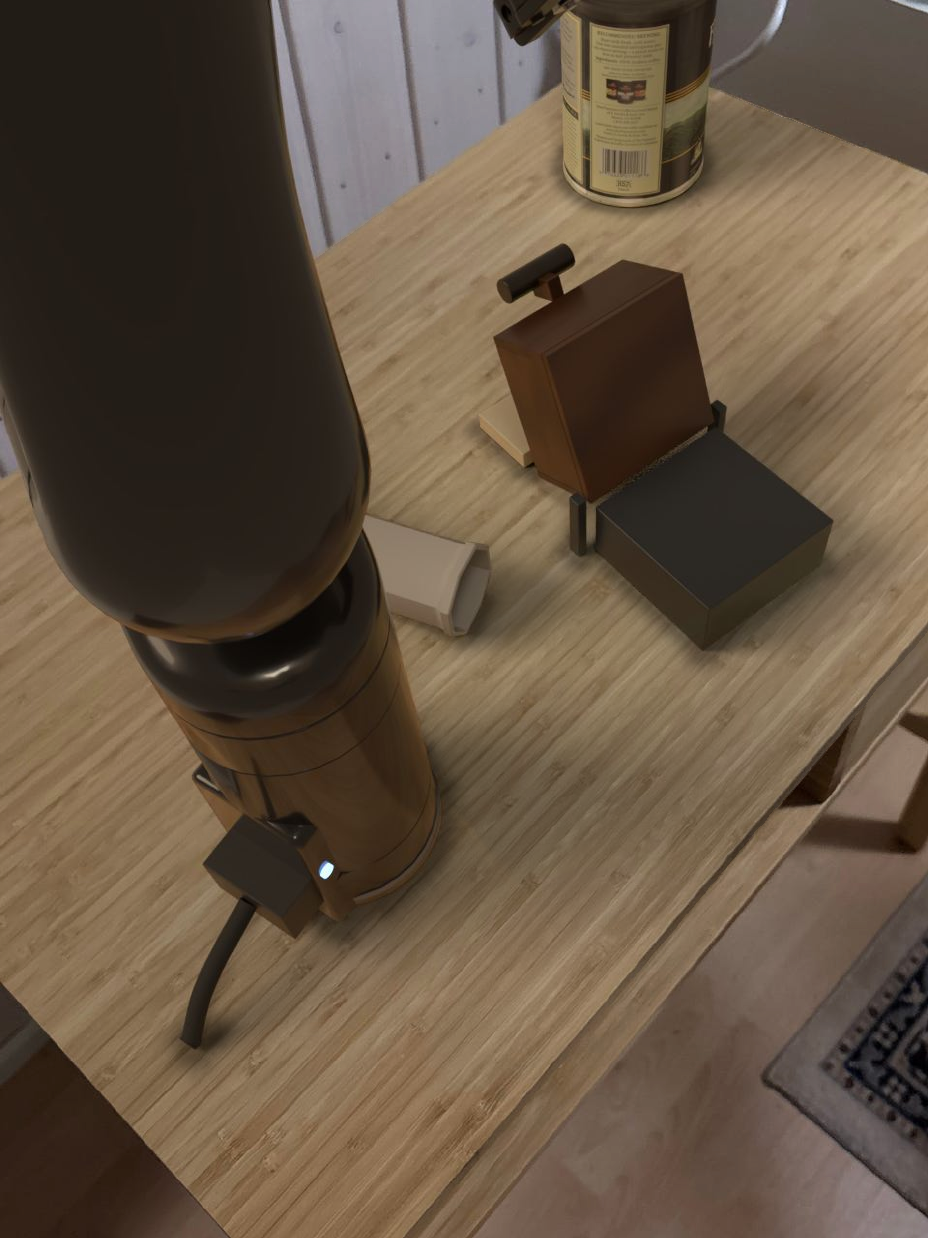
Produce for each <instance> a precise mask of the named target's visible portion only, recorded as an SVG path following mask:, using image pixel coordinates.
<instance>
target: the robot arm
mask: <svg viewBox="0 0 928 1238" xmlns="http://www.w3.org/2000/svg"><path fill="white" fill-rule="evenodd" d="M578 1H579V0H493V3H492V5H493V6H494V9H495V11H496V13H497V15H498V17H499V19H500V21H501V23H502V25H503V27H504V29H505V31H506V33H507V35H508V37H509V39H510V40H512V39H513V40H514V41H515V43H516V44H517V45H518V46H520V47H525V46H527V45H529V44H531V43H532V42H535V41H537V40H538V39H540V38H541V37H542V36H543V35H544V34H545V33H546V32H548V30H549V29H550V28H551V27H552V26H553V25H555V23H556V22H557V21H558V20H560V17H561V16H562V15H563V14H564V13H566V12H568V11H570V10H572V9H573V8H575V7H576V6H577V2H578ZM280 76H281V75H280V68H279V58H278V48H277V39H276V28H275V20H274V12H273V2H272V0H0V418H1V420H2V423H3V426H4V428H5V431H6V434H7V436H8V439H9V441H10V445H11V448H12V451H13V453H14V457H15V460H16V462H17V467H18V469H19V472H20V474H21V477H22V480H23V483H24V486H25V490H26V492H27V496H28V498H29V501H30V505H31V507H32V510H33V514H34V517H35V520H36V522H37V524H38V528H39V530H40V532H41V535H42V537H43V539H44V543H45V546H46V548H47V550H48V551H49V553H50V555H51V556H52V559H53V561H55V563H56V565H57V566H58V568H59V570H60V571H61V572H62V574H63V576H64V577H65V578H66V579H67V581H68V582H69V583H70V585H71V586H73V588H74V589H75V590H76V591H77V592H78V593H79V594H80V595H81V596H82V597H83V598H84V599H85V600H87V601H88V602H89V604H91V605H92V606H93V607H95V608H96V609H97V610H99V611H100V612H102V613H103V614H104V615H106V616H108V617H109V618H111V619H113V621H116V622H117V623H118V624H120V627H121V629H122V632H123V634H124V636H125V639H126V641H127V642H128V645H129V647H130V650H131V652H132V653H133V655H134V657H135V659H136V661H137V662H138V664H139V666H140V667H141V669H142V671H143V672H144V674H145V675H146V677H147V679H148V680H149V682H150V683H151V685H152V687H153V688H154V689H155V691H156V693H157V694H158V695H159V697H160V699H161V700H162V702H163V703H164V705H165V706H166V708H167V710H168V711H169V713H170V714H171V716H172V718H173V719H174V720H175V722H176V724H177V725H178V727H179V729H180V731H181V732H182V733H183V735H184V736H185V739H186V740H187V742H188V743H189V745H190V746H191V748H192V750H193V751H194V752H195V754H196V756H197V758H199V760H200V763H199V765H198V766H197V767H196V769H194V771H193V772H192V774H191V781H192V783H194V785H195V786H196V788H197V789H198V791H199V792H200V795H202V797H203V798H204V800H205V802H206V803H207V804H208V806H209V807H210V809H211V811H212V812H213V814H214V815H215V816H216V818H217V820H218V821H219V822H220V824H221V826H222V827H223V828H224V830H225V831H226V834H225V835H224V836H223V837H222V839H221V840H220V841H219V843H218V844H217V845H215V847H214V849H212V850H211V852H210V854H208V856H207V857H206V858H205V859H204V860H203V862H202V866H203V868H204V869H205V870H206V871H207V873H208V874H209V875H210V876H211V878H212V879H213V881H214V882H215V883H216V885H217V886H218V887H219V888H220V889H222V890H223V891H224V892H226V893H227V894H229V895H230V896H232V897H233V898H234V899H236V900H237V902H236V903H235V904H236V905H235V906H234V907H233V909H232V911H231V913H230V915H229V917H228V919H227V920H226V922H225V924H224V926H223V928H221V929H222V930H221V931H220V933H219V935H218V936H217V938H216V940H215V941H214V944H213V946H212V947H211V948H210V951H209V953H208V955H207V957H206V959H205V961H204V963H203V965H202V967H201V969H200V972H199V973H198V976H197V978H196V981H195V983H194V985H193V988H192V991H191V995H190V998H189V1001H188V1004H187V1008H186V1013H185V1018H184V1022H183V1028H182V1032H181V1035H180V1037H179V1040H180V1041H181V1042H182V1043H184V1044H185V1045H187V1046H188V1047H190V1048H191V1049H193V1050H194V1051H196V1050H197V1049H198V1048H199V1046H200V1043H201V1040H202V1037H203V1033H204V1028H205V1024H206V1019H207V1015H208V1012H209V1011H208V1010H209V1007H210V1003H211V1000H212V997H213V995H214V992H215V990H216V987H217V985H218V983H219V980H220V978H221V976H222V973H224V969H226V966H227V964H228V962H229V960H230V958H231V957H232V955H233V953H234V951H235V949H236V947H237V945H238V944H239V942H240V940H241V939H242V937H243V935H244V933H245V931H246V929H247V927H248V926H249V924H250V922H251V920H252V918H253V917H254V915H255V914H258V915H259V916H261V918H262V919H265V920H266V921H267V922H269V923H271V924H272V925H274V926H275V927H276V928H278V929H279V930H281V931H282V932H284V933H285V934H287V935H288V936H290V937H291V938H292V939H294V940H296V939H298V937H299V936H300V934H301V933H302V931H303V930H304V929H305V927H307V925H308V924H309V923H310V921H311V920H312V918H313V917H314V915H315V914H316V913H317V912H318V911H320V912H321V913H323V914H324V915H326V916H327V917H329V918H331V919H332V920H333V921H335V922H338V923H340V922H343V921H344V920H346V918H347V917H348V915H349V914H350V913H351V911H352V910H353V909H354V908H355V907H356V906H358V905H363V904H367V903H371V902H373V901H377V900H378V899H381V898H383V897H385V896H387V895H389V894H391V893H392V892H394V891H396V890H397V889H399V888H400V887H401V886H403V885H404V884H406V883H407V882H408V881H409V880H410V879H412V877H413V876H414V875H415V874H416V873H417V872H418V871H419V870H420V868H421V867H422V866H423V865H424V863H425V862H426V861H427V859H428V858H429V856H430V854H431V853H432V850H433V848H434V846H435V844H436V842H437V838H438V835H439V832H440V827H441V822H442V799H441V793H440V789H439V785H438V781H437V778H436V776H435V772H434V771H433V769H432V767H431V762H430V758H429V755H428V751H427V748H426V747H427V746H426V743H425V740H424V735H423V732H422V728H421V724H420V720H419V717H418V712H417V708H416V705H415V701H414V697H413V692H412V690H411V685H410V681H409V677H408V674H407V669H406V665H405V661H404V659H403V655H402V650H401V647H400V643H399V642H400V641H399V639H398V635H397V630H396V627H395V623H394V619H393V614H392V612H391V611H390V607H389V603H388V600H387V596H386V592H385V588H384V584H383V580H382V576H381V573H380V569H379V566H378V563H377V560H376V557H375V554H374V551H373V548H372V546H371V544H370V541H369V539H368V537H367V534H366V532H365V530H364V528H363V522H364V519H365V515H366V513H367V511H368V507H369V504H370V496H371V485H372V484H371V483H372V473H373V471H372V458H371V452H370V447H369V441H368V438H367V433H366V430H365V427H364V423H363V421H362V419H361V418H362V417H361V414H360V412H359V408H358V405H357V402H356V399H355V396H354V393H353V389H352V387H351V384H350V380H349V378H348V374H347V371H346V368H345V364H344V361H343V358H342V354H341V351H340V348H339V345H338V341H337V337H336V334H335V330H334V327H333V323H332V320H331V316H330V312H329V309H328V304H327V301H326V299H325V295H324V291H323V286H322V284H321V281H320V277H319V273H318V269H317V266H316V263H315V259H314V256H313V252H312V249H311V244H310V240H309V236H308V232H307V229H306V224H305V221H304V217H303V212H302V208H301V203H300V199H299V195H298V191H297V185H296V180H295V175H294V169H293V165H292V160H291V155H290V149H289V141H288V133H287V125H286V119H285V111H284V104H283V102H284V101H283V95H282V87H281V77H280Z"/></svg>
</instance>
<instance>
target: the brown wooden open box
mask: <svg viewBox="0 0 928 1238" xmlns="http://www.w3.org/2000/svg"><path fill="white" fill-rule="evenodd" d="M575 265H576V257H575V254H574V252H573V250H572V248H571V247H570V246H569V245H568V244H566V243H565V242H564V243H563V242H562V243H559V244H558V245H556V246H554V247H553V248H551V249H549V250H548V251H545V252H544V253H542V254H541V255H539V256H537V257H535V258H533V259H532V260H530V261H528V262H527V263H525V264H523V265H521V266H520V267H518V268H515V270H513V271H511V272H509V273H508V274H506V275H504V276H503V277H501V278H499V279H498V280H497V282H496V290H497V293H498V295H499V296H500V298H501V299H502V301H504V303H506V304H508V305H511V304H513V303H515V302H516V301H518V300H520V299H522V298H523V297H525V296H526V295H528V294H530V293H533V296H534V297H536V298H540V299H543V300H546V301H549V302H548V303H547V304H545V305H543V306H542V307H540V308H539V309H537V310H535V311H534V312H532V313H530V314H529V315H527V316H526V317H524V318H522V319H520V320H519V321H517V322H515V323H513V324H512V325H510V326H508V327H507V328H504V330H502V331H500V332H499V333H497V334H495V335H493V337H492V339H493V342H494V345H495V349H496V351H497V355H498V357H499V360H500V364H501V366H502V367H501V368H502V369H503V372H504V375H505V379H506V381H507V385H508V388H509V390H510V395H511V394H512V397H513V400H514V403H515V406H516V409H517V412H518V415H519V418H520V421H521V424H522V427H523V430H524V433H525V436H526V439H527V442H528V446H529V449H530V452H531V455H532V458H533V461H534V462H533V464H534V466H535V469H536V472H537V475H538V477H539V478H540V479H542V480H544V481H546V482H547V483H550V484H551V485H553V486H555V487H557V488H559V489H561V490H564V491H565V492H567V493H569V494H571V495H574V494H575V493H577V492H578V493H579V494H580V495H581V496H582V497H583V498H584V499H585V500H586V503H588V504H591V505H592V504H593V503H595V502H596V501H598V500H599V499H601V498H603V497H604V496H605V495H607V494H609V493H610V492H611V491H613V490H614V489H616V488H617V487H619V486H620V485H622V484H623V483H625V482H626V481H628V480H630V479H631V478H632V477H634V476H636V475H637V474H638V473H640V472H641V471H643V470H644V469H646V468H647V467H649V466H650V465H652V464H654V463H655V462H656V461H658V460H660V459H661V458H662V457H663V456H664V457H665V455H667V454H669V453H670V452H672V451H673V450H674V449H676V448H677V447H679V446H680V445H681V444H683V443H684V442H686V441H687V440H689V439H691V438H692V437H694V436H695V435H697V434H699V432H701V431H703V430H704V429H707V426H709V425H710V424H712V423H713V422H714V418H713V413H712V408H711V399H710V395H709V391H708V385H707V381H706V376H705V371H704V367H703V361H702V358H701V357H702V356H701V353H700V348H699V343H698V339H697V334H696V329H695V325H694V319H693V314H692V310H691V305H690V301H689V296H688V291H687V286H686V282H685V277H684V273H683V272H678V271H674V270H671V269H666V268H661V267H657V266H652V265H649V264H644V263H640V262H636V261H632V260H627V259H623V258H622V259H621V260H619V261H617V262H615V263H614V264H612V265H610V266H609V267H607V268H605V269H604V270H602V271H600V272H598V273H597V274H595V275H594V276H592V277H591V278H589V279H587V280H585V281H584V282H582V283H581V284H579V285H577V286H575V287H573V288H572V289H571V290H569V291H567V292H566V293H565V292H564V289H563V285H562V282H561V277H560V275H563V273H566V272H567V271H569V270H571V269H573V268H574V267H575Z"/></svg>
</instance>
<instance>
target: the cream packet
mask: <svg viewBox="0 0 928 1238" xmlns="http://www.w3.org/2000/svg"><path fill="white" fill-rule="evenodd" d="M478 420H479V427H480V428H481V430H483V431H484V432H485V433H486V434H487V435H488V436H489V437H490V438H491V439H492V440H493V441H494V442H496V443H497V444H498V445H499V446H500V447H501V448H502V449H503V450H504V451H505V452H506V453H507V454H508V455H510V456H511V457H512V458H513V459H514V460H515V461H516V462H517V463H518V464H519V465H520V466H521V467H522V468H526V467H528V466H530V465H531V464H532V463H534V461H533V458H532V455H531V452H530V449H529V446H528V442H527V439H526V436H525V433H524V430H523V427H522V424H521V421H520V418H519V415H518V412H517V409H516V406H515V403H514V400H513V397H512V394H511V393H510V394H509V395H507V396H506V397H504V398H502V399H501V400H499V401H497V402H496V403H494V404H493V405H492V406H490V407H488V408H487V409H485V410H483V411H482V412H479V414H478Z"/></svg>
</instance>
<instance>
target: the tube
mask: <svg viewBox="0 0 928 1238" xmlns="http://www.w3.org/2000/svg"><path fill="white" fill-rule="evenodd" d="M363 528H364V530H365V532H366V534H367V537H368V539H369V541H370V544H371V546H372V548H373V551H374V554H375V557H376V560H377V563H378V566H379V569H380V573H381V576H382V580H383V584H384V588H385V592H386V596H387V600H388V603H389V607H390V611H391V613H394V614H396V615H399V616H402V617H406V618H409V619H410V620H411V619H412V620H415V621H418V622H421V623H423V624H427V625H430V626H433V627H436V628H438V629H441V630H442V631H443V634H444V635H446V636H449V637H451V638H452V637H460V636H466V635H467V634H468V632H469V630H470V628H471V626H472V624H473V622H474V620H475V618H476V616H477V614H478V612H479V610H480V609H481V606H482V604H483V602H484V598H485V594H486V590H487V587H488V583H489V579H490V576H491V573H492V563H491V555H490V547H489V545H488V544H484V543H481V542H474V541H473V542H472V541H466V542H463V541H460V540H457V539H454V538H450V537H447V536H443V535H439V534H437V533H434V532H432V531H431V532H430V531H427V530H424V529H421V528H418V527H417V528H416V527H414V526H411V525H407V524H404V523H400V522H397V521H394V520H391V519H387V518H384V517H381V516H379V515H378V516H377V515H374V514H371V513H368V512H366V515H365V519H364V522H363Z"/></svg>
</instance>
